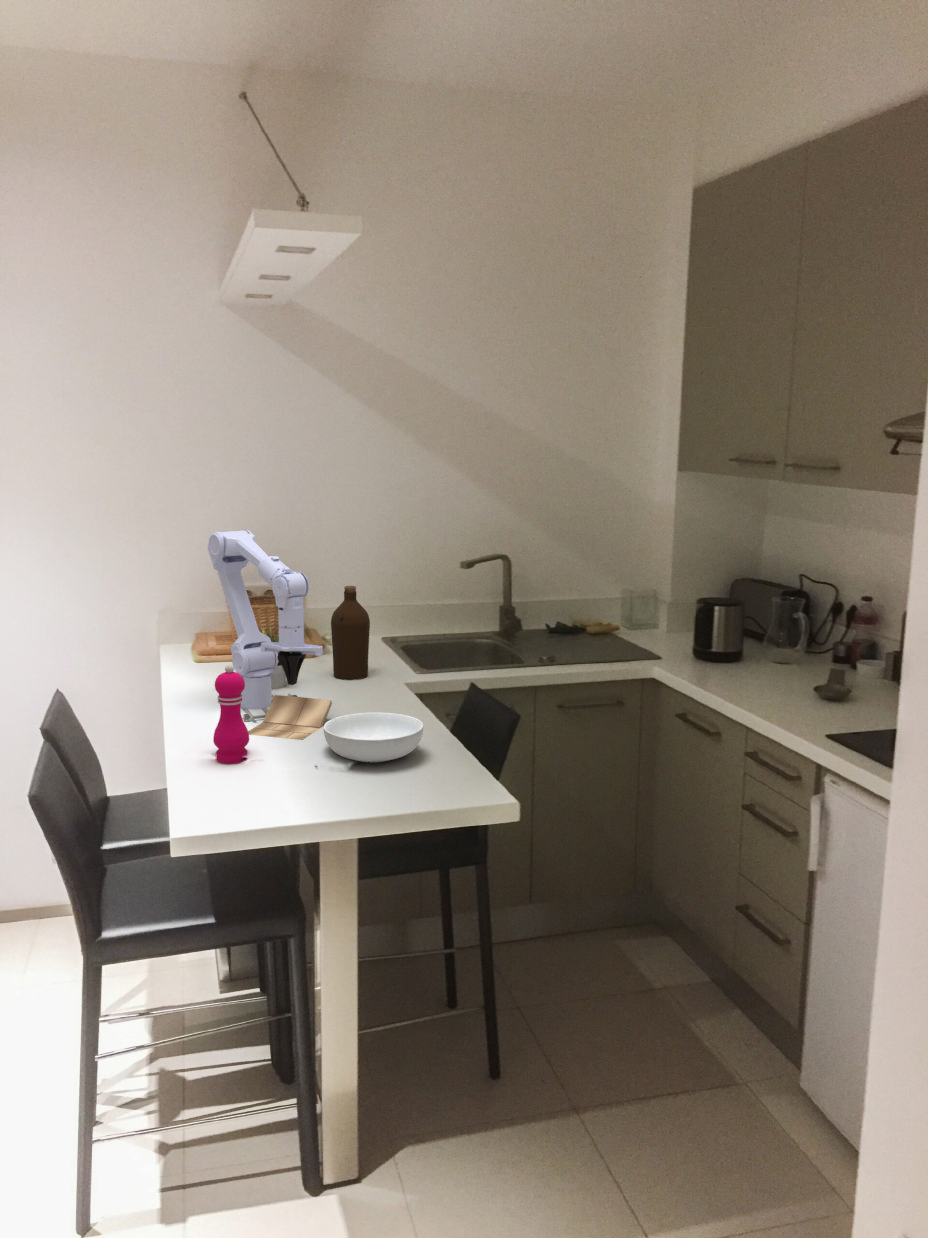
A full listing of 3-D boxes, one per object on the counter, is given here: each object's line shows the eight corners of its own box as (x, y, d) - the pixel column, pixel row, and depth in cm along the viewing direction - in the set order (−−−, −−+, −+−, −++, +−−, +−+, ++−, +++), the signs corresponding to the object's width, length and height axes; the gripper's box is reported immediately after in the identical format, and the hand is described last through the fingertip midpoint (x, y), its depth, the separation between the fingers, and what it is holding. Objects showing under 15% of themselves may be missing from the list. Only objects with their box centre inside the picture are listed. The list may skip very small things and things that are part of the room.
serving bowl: (433, 745, 221) (433, 714, 219) (408, 776, 200) (409, 743, 199) (342, 738, 225) (342, 707, 223) (309, 768, 205) (308, 735, 203)
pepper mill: (218, 766, 204) (215, 670, 201) (210, 756, 211) (207, 662, 207) (254, 761, 208) (251, 666, 204) (244, 751, 214) (242, 659, 210)
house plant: (297, 694, 259) (296, 632, 256) (243, 693, 260) (241, 631, 257) (306, 681, 273) (305, 621, 270) (255, 680, 274) (254, 620, 271)
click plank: (264, 724, 232) (262, 721, 231) (276, 698, 237) (275, 694, 236) (321, 730, 228) (319, 727, 227) (332, 703, 234) (330, 699, 233)
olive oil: (371, 680, 276) (371, 589, 271) (332, 681, 274) (331, 589, 269) (368, 671, 286) (368, 583, 281) (330, 671, 284) (329, 583, 280)
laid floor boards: (243, 739, 222) (243, 733, 222) (262, 727, 231) (262, 722, 231) (302, 745, 219) (302, 739, 219) (319, 733, 227) (319, 728, 227)
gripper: (254, 627, 229) (255, 685, 231) (313, 631, 225) (314, 690, 227) (268, 621, 235) (269, 678, 238) (326, 625, 232) (326, 683, 234)
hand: (292, 683), depth 233 cm, fingers closed
